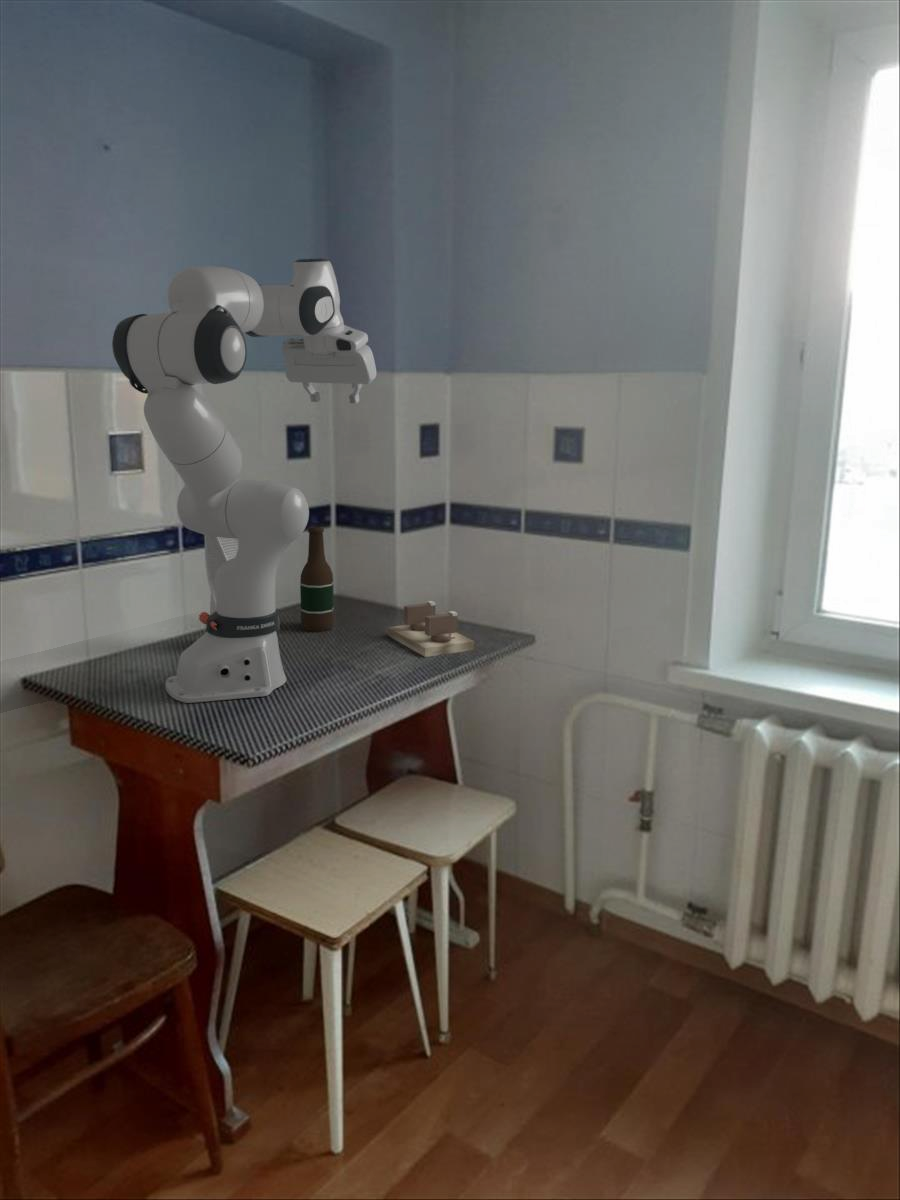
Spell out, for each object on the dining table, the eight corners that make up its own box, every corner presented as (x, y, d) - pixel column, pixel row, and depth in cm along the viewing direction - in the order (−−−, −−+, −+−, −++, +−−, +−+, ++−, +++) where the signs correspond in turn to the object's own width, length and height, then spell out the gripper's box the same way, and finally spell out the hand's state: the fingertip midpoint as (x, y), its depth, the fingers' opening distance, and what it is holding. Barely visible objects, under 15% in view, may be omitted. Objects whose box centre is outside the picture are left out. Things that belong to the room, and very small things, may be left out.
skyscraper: (251, 643, 206) (247, 517, 199) (239, 653, 198) (234, 523, 191) (214, 641, 206) (208, 516, 199) (201, 652, 198) (195, 522, 192)
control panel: (425, 657, 197) (425, 640, 196) (388, 635, 212) (388, 620, 211) (474, 649, 203) (474, 634, 202) (434, 629, 218) (434, 614, 217)
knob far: (410, 632, 207) (410, 607, 206) (401, 627, 211) (401, 602, 210) (437, 628, 211) (438, 603, 209) (428, 624, 215) (429, 599, 213)
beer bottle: (338, 630, 215) (337, 528, 209) (305, 633, 212) (302, 530, 206) (329, 622, 222) (328, 523, 216) (297, 625, 219) (295, 524, 213)
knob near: (431, 644, 199) (432, 617, 198) (422, 638, 203) (422, 613, 201) (459, 639, 202) (460, 614, 201) (449, 634, 206) (450, 609, 205)
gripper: (273, 342, 194) (286, 405, 202) (362, 343, 188) (371, 408, 195) (287, 333, 199) (299, 395, 207) (374, 334, 193) (383, 398, 200)
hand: (335, 401), depth 201 cm, fingers open, 8 cm apart
